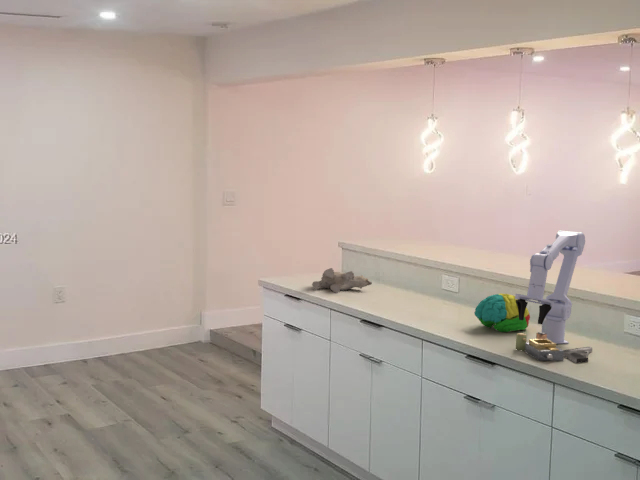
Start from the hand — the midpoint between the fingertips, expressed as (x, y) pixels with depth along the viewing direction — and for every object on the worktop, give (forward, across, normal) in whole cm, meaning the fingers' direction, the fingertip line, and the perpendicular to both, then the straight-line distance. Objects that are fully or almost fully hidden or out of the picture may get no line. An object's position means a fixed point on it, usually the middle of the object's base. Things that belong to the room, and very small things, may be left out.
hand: (530, 322), depth 273 cm
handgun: (+9, +19, -6) cm, 22 cm away
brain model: (+4, +6, +36) cm, 37 cm away
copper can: (+9, +9, +6) cm, 14 cm away
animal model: (+1, -44, +124) cm, 132 cm away
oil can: (+11, +1, +5) cm, 12 cm away
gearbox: (+11, +5, -6) cm, 14 cm away
